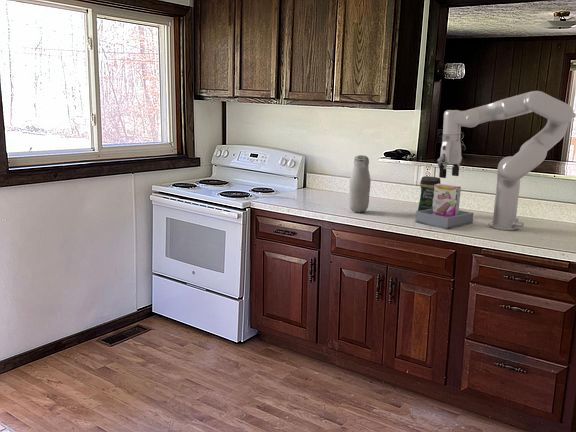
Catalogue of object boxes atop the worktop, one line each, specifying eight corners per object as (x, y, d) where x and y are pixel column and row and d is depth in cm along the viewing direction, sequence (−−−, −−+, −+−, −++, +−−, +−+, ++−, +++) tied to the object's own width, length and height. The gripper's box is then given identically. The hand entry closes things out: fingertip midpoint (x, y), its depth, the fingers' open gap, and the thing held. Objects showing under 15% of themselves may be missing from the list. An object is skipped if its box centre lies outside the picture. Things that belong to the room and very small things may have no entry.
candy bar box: (430, 219, 254) (433, 184, 251) (434, 218, 258) (437, 183, 255) (454, 223, 248) (457, 187, 244) (458, 221, 252) (461, 186, 248)
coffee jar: (416, 214, 270) (418, 176, 266) (419, 211, 277) (422, 174, 273) (436, 216, 266) (439, 178, 262) (439, 213, 273) (442, 176, 269)
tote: (472, 223, 253) (473, 212, 252) (447, 229, 241) (448, 218, 240) (440, 216, 266) (441, 206, 265) (415, 222, 253) (416, 211, 252)
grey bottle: (346, 213, 270) (349, 155, 264) (350, 209, 279) (353, 153, 273) (366, 214, 267) (369, 156, 261) (370, 210, 276) (373, 154, 270)
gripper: (447, 139, 237) (444, 179, 240) (469, 138, 248) (467, 175, 251) (432, 138, 242) (430, 177, 246) (455, 137, 253) (452, 174, 257)
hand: (448, 176), depth 249 cm, fingers open, 9 cm apart
